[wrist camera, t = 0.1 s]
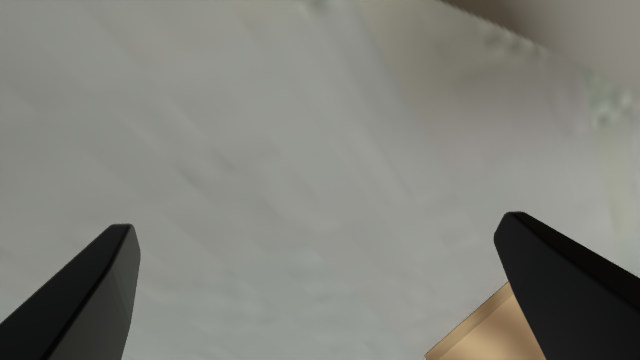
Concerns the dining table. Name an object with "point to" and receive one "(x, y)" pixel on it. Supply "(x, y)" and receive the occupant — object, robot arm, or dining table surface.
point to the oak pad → (491, 333)
